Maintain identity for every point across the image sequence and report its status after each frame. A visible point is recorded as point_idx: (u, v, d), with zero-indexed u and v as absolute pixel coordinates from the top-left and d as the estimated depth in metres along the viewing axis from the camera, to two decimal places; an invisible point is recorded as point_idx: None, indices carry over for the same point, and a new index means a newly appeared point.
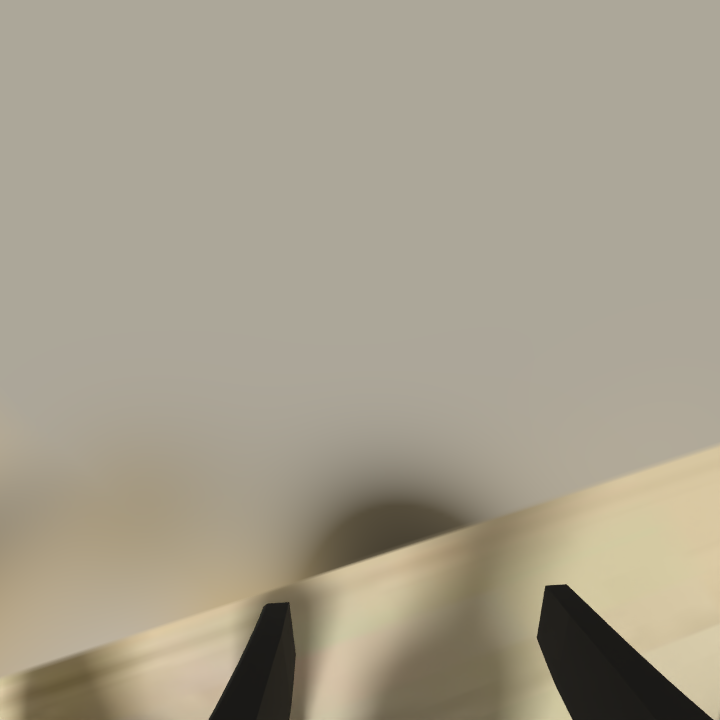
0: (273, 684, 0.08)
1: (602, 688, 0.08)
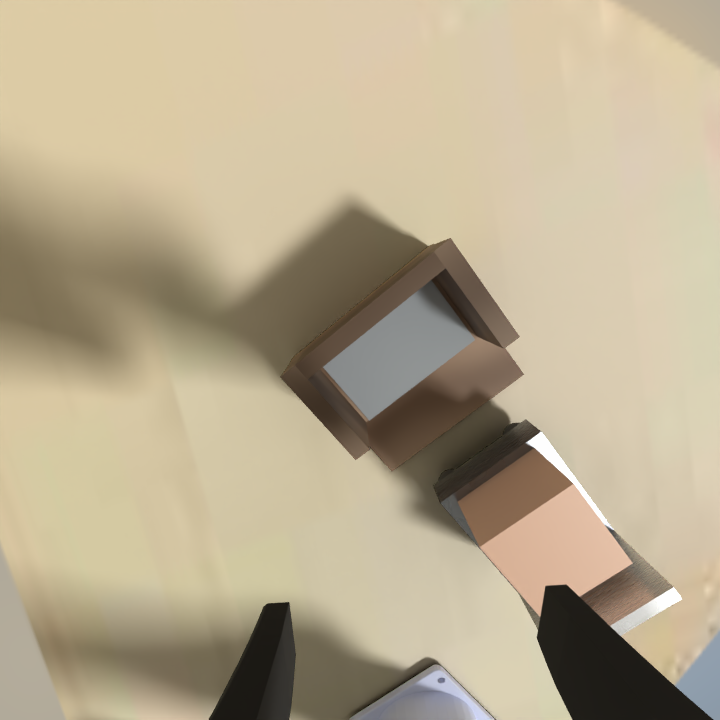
0: (273, 684, 0.08)
1: (602, 688, 0.08)
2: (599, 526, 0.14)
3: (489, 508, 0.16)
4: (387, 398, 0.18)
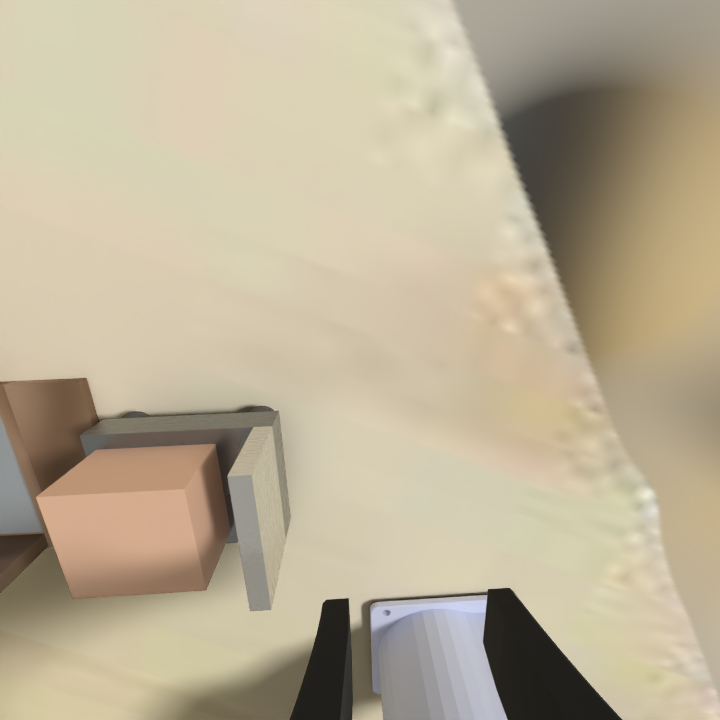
0: (346, 679, 0.08)
1: (530, 693, 0.07)
2: (109, 498, 0.12)
3: None
4: (25, 508, 0.18)
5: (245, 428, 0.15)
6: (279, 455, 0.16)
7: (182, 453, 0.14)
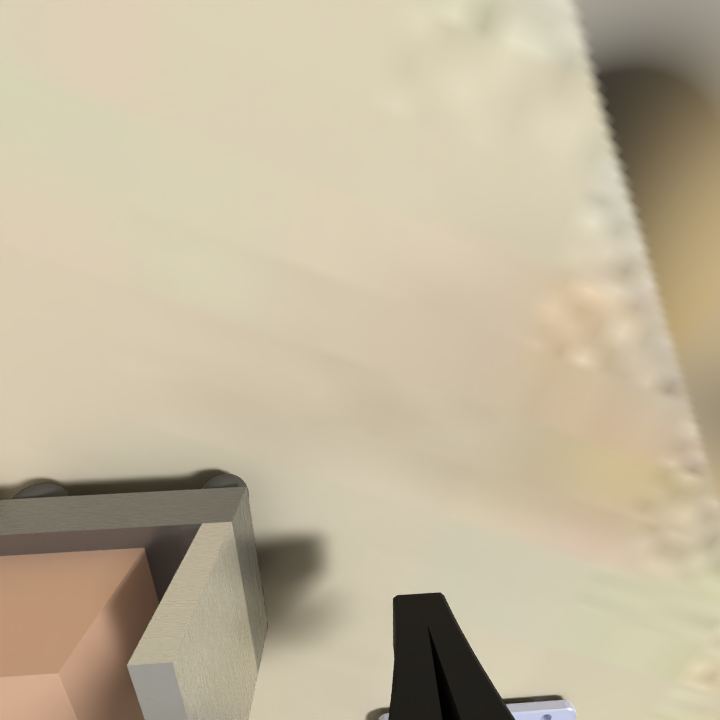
0: None
1: (443, 700, 0.07)
2: None
3: None
4: None
5: (190, 524, 0.10)
6: (247, 554, 0.11)
7: (86, 570, 0.09)
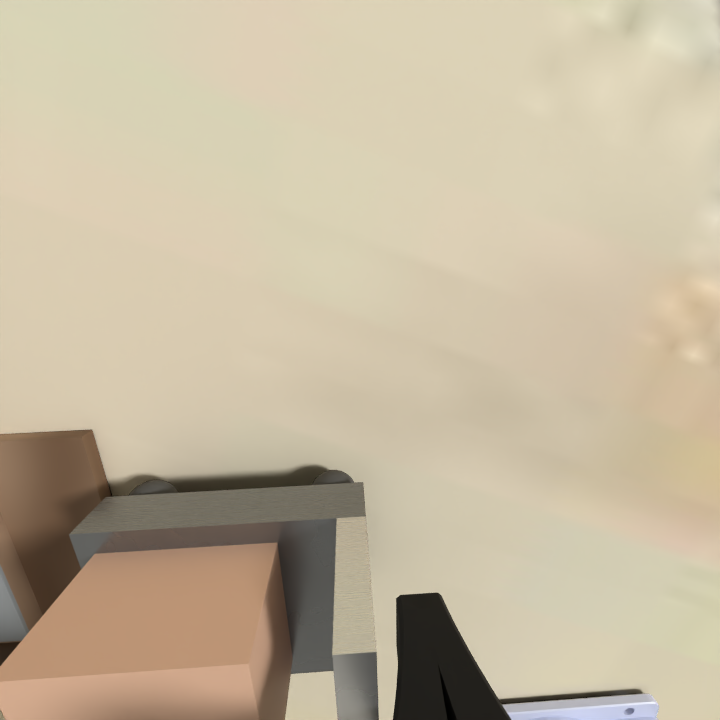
0: None
1: None
2: (117, 680, 0.07)
3: None
4: (6, 610, 0.12)
5: (323, 519, 0.10)
6: None
7: (230, 565, 0.09)
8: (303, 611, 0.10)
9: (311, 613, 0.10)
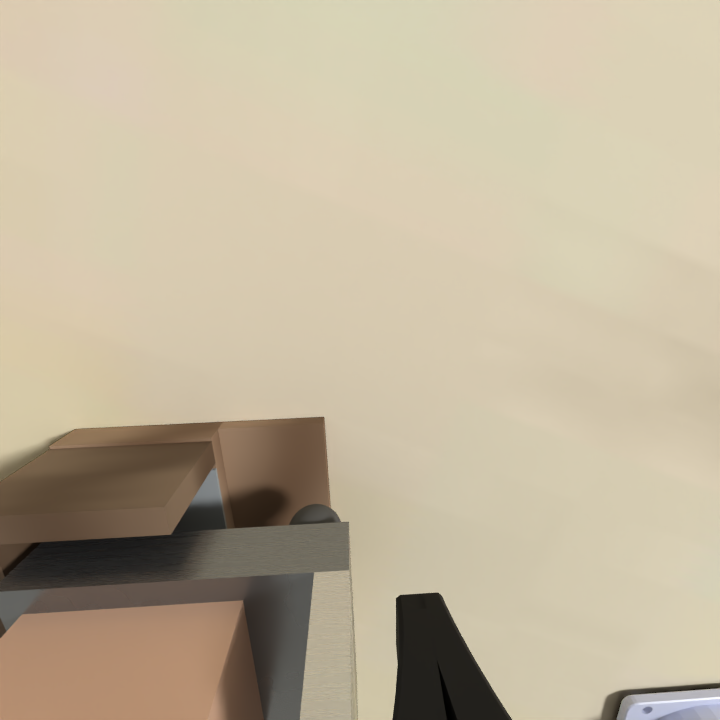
0: None
1: None
2: None
3: None
4: None
5: (298, 572, 0.08)
6: None
7: (182, 632, 0.07)
8: (276, 676, 0.09)
9: (286, 679, 0.09)
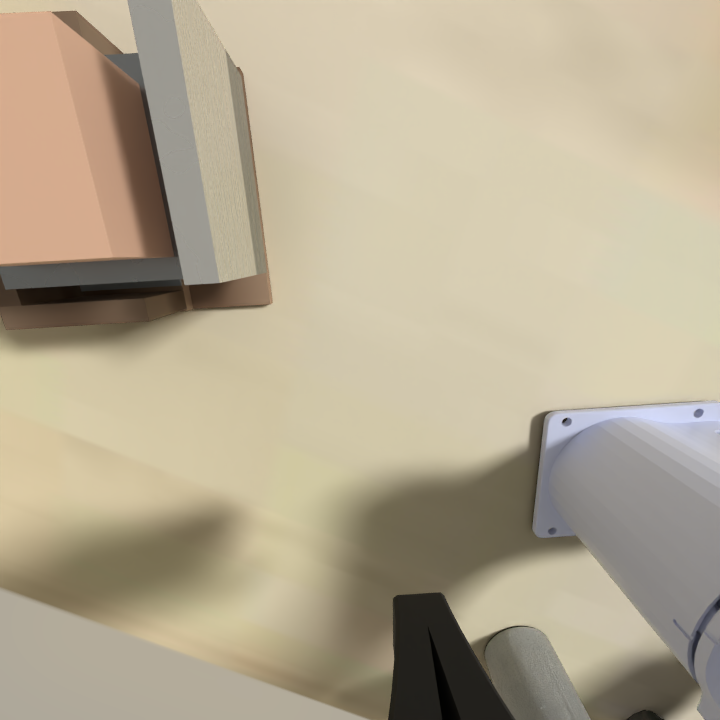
0: None
1: (443, 700, 0.07)
2: None
3: None
4: None
5: None
6: (242, 135, 0.11)
7: None
8: None
9: None
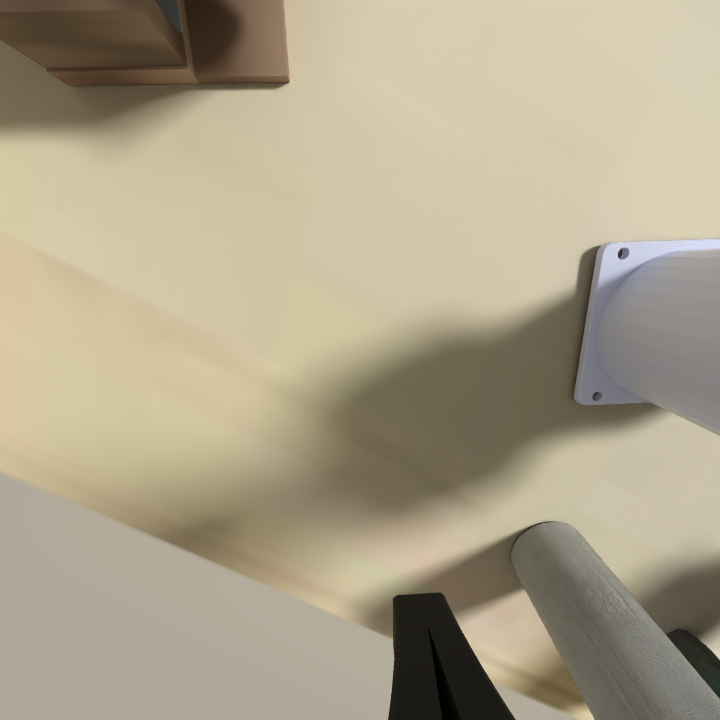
0: None
1: (443, 700, 0.07)
2: None
3: None
4: None
5: None
6: None
7: None
8: None
9: None
